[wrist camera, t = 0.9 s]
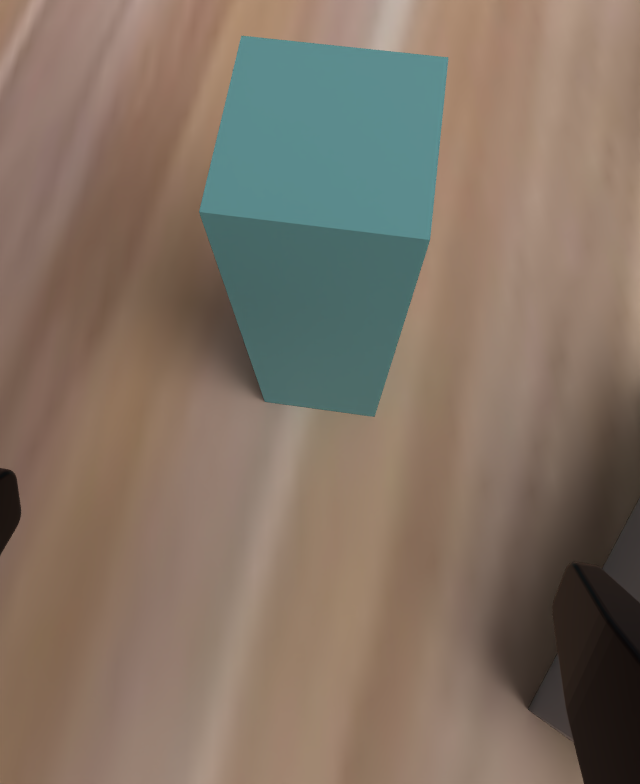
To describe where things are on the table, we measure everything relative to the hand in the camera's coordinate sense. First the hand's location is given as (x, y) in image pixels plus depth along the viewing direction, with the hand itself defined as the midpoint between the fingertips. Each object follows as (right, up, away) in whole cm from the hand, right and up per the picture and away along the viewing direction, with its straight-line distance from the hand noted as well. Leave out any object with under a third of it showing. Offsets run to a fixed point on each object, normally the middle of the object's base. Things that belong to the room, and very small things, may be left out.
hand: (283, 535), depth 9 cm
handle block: (+1, +4, +15) cm, 15 cm away
